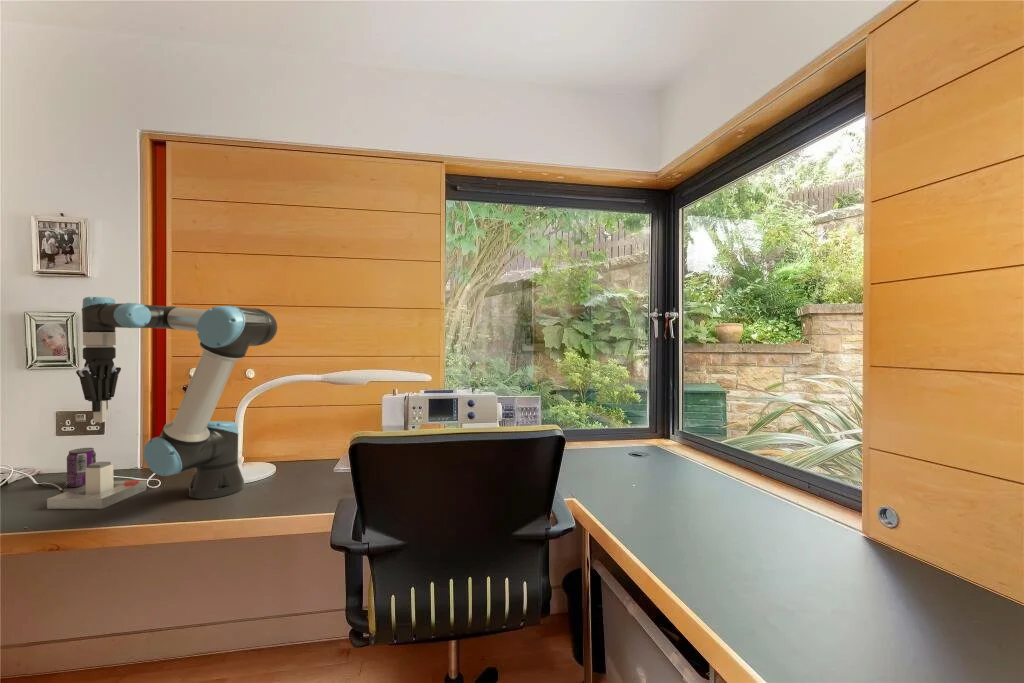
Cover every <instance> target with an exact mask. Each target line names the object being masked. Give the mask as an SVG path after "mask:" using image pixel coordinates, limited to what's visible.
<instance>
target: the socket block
mask: <svg viewBox="0 0 1024 683" xmlns="http://www.w3.org/2000/svg"><path fill="white" fill-rule="evenodd" d="M144 491H147V480H137V479H136V480H134V479H133V480H132V479H131V480H113V488H112V489H110V490H107V491H104V492H102V493H99V494H97V495H86V485H84V486H81V487H75V488H73V489H71V490H68V491H65V492H62V493H60V494H56V495H54V496H51V497H49V498H46V509H47V510H64V509H65V510H69V509H71V510H72V509H74V510H80V509H82V510H85V509H86V510H88V509H89V510H96V509H98V510H103V509H105V508H107V507H111V506H112V505H115V504H116V503H119V502H122V501H124V500H126V499H128V498H131V497H133V496H135V495H138V494H140V493H142V492H144Z"/></svg>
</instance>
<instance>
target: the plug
mask: <svg viewBox="0 0 1024 683" xmlns="http://www.w3.org/2000/svg"><path fill="white" fill-rule="evenodd" d="M111 462H112V461H96V463H93V464H90V465H88V468H86V495H97V494H99V493H102V492H104V491H107V490H110V489H112V488H113V481H114V464H111Z"/></svg>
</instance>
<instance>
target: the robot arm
mask: <svg viewBox="0 0 1024 683" xmlns="http://www.w3.org/2000/svg"><path fill="white" fill-rule="evenodd" d="M81 316H82V317H81V320H82V321H81V323H82V345H83V346H84V347H83V348H82V359H83V360H85V362H84V365H83V368H81V369H77V370H76V372H75V374H76V375H77V377H79V381H80V385H81V389H82V393H83V394H82V395H83V398H84V400H86V401H88V402H91V411H92V412H93V423H104V422H107V420H108V419H107V411H108V408H109V407H108V406H109V405H108V404H109V403H108V401H112V398H114V397H115V393H116V389H117V385H118V384H117V383H118V378H119V375H120V372H121V370H122V367H119V366H118V367H117V366H116V365H115V362H114V359H116V356H117V353H116V351H117V350H116V349H117V347H115V346H116V345H117V344H116V343H117V342H116V341H117V338H116V332H117V331H116V328H119V329H121V328H122V329H125V328H126V329H167V330H178V331H186V332H197V333H196V334H197V338H198V340H199V341H200V342H199V347H200V348H201V350H202V354H201V355H200V358H199V360H198V363H197V365H196V367H195V369H194V372H193V373H192V377H191V378H190V381H189V383H188V385H187V388H186V391H185V392H184V395H183V397H182V399H181V401H180V404H179V407H178V409H177V411H176V414H175V416H174V418H173V420H171V421H168V422H166V423H165V424H164V426H163V428H162V430H161V432H160V435H159V436H156V437H153V438H151V439H149V440H148V441H147V442H146V444H145V446H144V447H143V458H144V461H145V463H146V466H147V467H148V468H149V470H150V471H151V472H152V473H153V474H155V475H158V476H160V477H168V476H172V475H177V474H180V473H183V472H186V471H188V470H191V469H194V468H195V471H194V474H193V476H192V480H191V482H190V485H189V489H188V497H189V498H191V499H199V500H200V499H202V500H204V499H205V500H206V499H215V498H221V497H225V496H229V495H232V494H235V493H238V492H240V491H241V490H243V489H244V487H245V480H244V477H243V474H242V472H241V470H240V467H239V459H238V458H239V432H238V424H237V423H236V422H235V421H230V420H229V421H227V420H225V421H224V420H218V421H217V420H211V419H212V416H213V414H214V413H215V412H214V411H215V410H216V407H217V406H218V403H219V401H220V398H221V397H222V394H223V392H224V389H225V387H226V385H227V382H228V380H229V379H230V377H231V373H232V371H233V370H234V366H235V365H236V363H237V361H239V360H241V359H244V358H245V356H246V355H247V354H246V353H247V351H248V350H249V348H250V347H256V346H257V347H259V346H263V345H266V344H269V342H271V341H272V340H273V339H274V338H275V337H276V335H277V333H278V322H277V319H276V318H275V316H274V315H272V314H271V313H270V312H268V311H267V310H265V309H261V308H255V307H254V308H252V307H242V306H241V307H239V306H234V305H222V306H221V305H219V306H214V307H210V308H209V309H200V308H198V309H197V308H189V307H187V308H186V307H178V306H172V305H171V306H169V305H168V306H167V305H166V306H165V305H152V304H142V303H136V302H125V303H124V302H123V303H121V302H120V303H116V300H115V298H112V297H105V296H86V297H84V298H83V299H82V308H81Z"/></svg>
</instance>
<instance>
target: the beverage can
mask: <svg viewBox="0 0 1024 683" xmlns="http://www.w3.org/2000/svg"><path fill="white" fill-rule="evenodd" d="M96 453H97V452H96V451H95V448H94V447H81V448H76V449H70V450H69V451H68V455H67V456H66V486H68V487H71V488H79V487H81V486H84V485H86V468H88V465H90V464H93V463H96V462H97V454H96Z"/></svg>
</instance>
